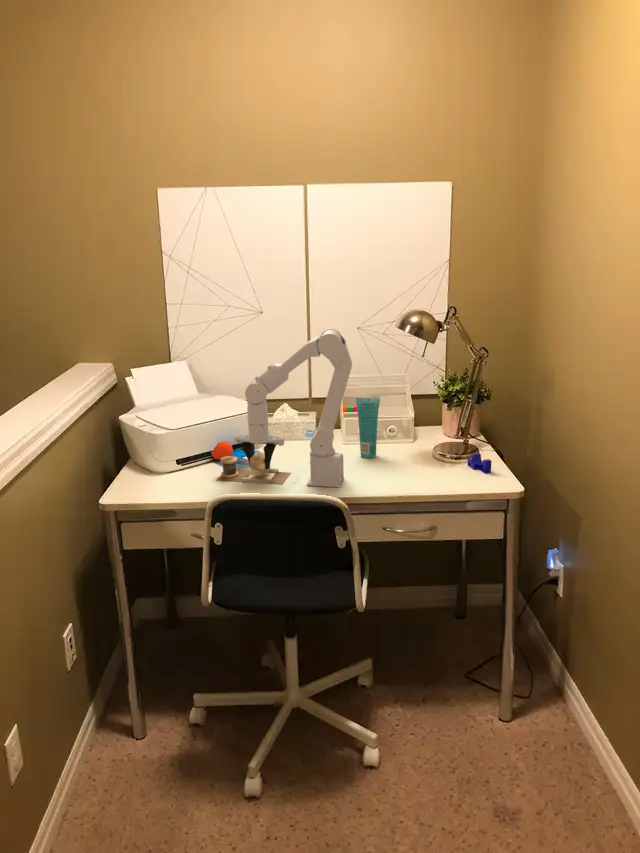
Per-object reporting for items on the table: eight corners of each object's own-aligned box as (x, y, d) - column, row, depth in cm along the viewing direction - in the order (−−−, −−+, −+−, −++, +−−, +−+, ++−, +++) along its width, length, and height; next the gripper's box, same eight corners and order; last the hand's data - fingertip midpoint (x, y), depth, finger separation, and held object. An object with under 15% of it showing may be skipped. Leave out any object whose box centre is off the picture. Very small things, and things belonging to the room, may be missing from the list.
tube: (379, 453, 237) (379, 395, 232) (380, 458, 233) (380, 399, 227) (356, 454, 237) (355, 396, 232) (356, 458, 232) (356, 400, 227)
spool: (240, 472, 218) (239, 456, 217) (235, 478, 214) (234, 462, 212) (224, 471, 220) (223, 455, 218) (218, 477, 215) (217, 461, 213)
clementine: (214, 467, 228) (213, 445, 226) (204, 461, 233) (203, 440, 231) (237, 461, 232) (236, 440, 230) (226, 456, 238) (225, 435, 236)
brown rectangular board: (291, 477, 218) (291, 469, 217) (282, 489, 208) (282, 481, 208) (228, 473, 222) (227, 465, 222) (216, 485, 213) (215, 477, 212)
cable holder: (467, 466, 225) (467, 453, 223) (477, 464, 225) (478, 452, 224) (480, 474, 217) (480, 461, 216) (490, 473, 218) (491, 460, 217)
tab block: (270, 468, 217) (269, 452, 215) (264, 476, 211) (263, 459, 210) (257, 468, 218) (256, 452, 216) (250, 475, 212) (249, 458, 210)
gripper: (286, 419, 212) (287, 464, 216) (238, 417, 215) (241, 461, 219) (279, 426, 205) (281, 472, 209) (230, 424, 209) (233, 469, 212)
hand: (260, 467), depth 214 cm, fingers closed on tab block, 4 cm apart
